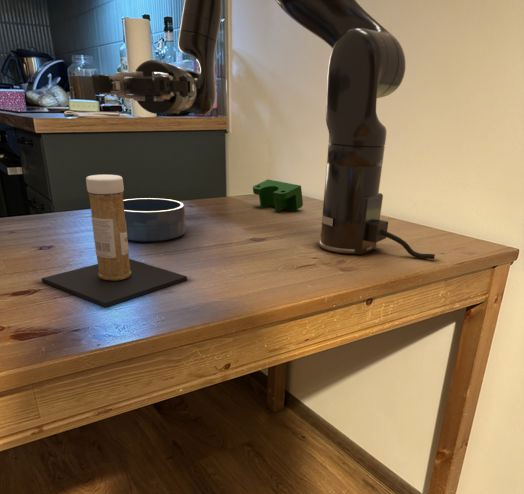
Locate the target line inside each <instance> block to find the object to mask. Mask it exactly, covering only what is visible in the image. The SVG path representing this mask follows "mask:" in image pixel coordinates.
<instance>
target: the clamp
mask: <svg viewBox="0 0 524 494" xmlns="http://www.w3.org/2000/svg"><path fill="white" fill-rule="evenodd" d="M252 192H253V194H254V195H257V196H258V197H259V205H260V208H261V209H263V208H265V207H266V208H267V207H269V206H270V207H274V210H275V211H274V212H276V213H277V212H278V213H279V212H280V211H282V210H287V211H288V210H289V211H292V212H295V211H297V210H299V209H301V208H302V207H303V205H304V200H303V192H302V185H300V184H295V183H289V182H284V181H280V180H279V181H278V180H273V179H265V180H264V181H261V182H259V183H257V184H254V185H252Z"/></svg>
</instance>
